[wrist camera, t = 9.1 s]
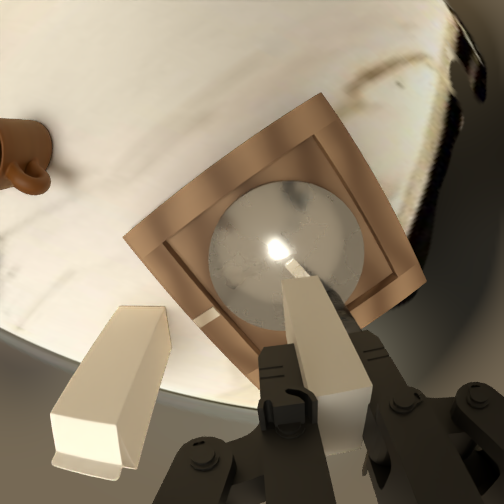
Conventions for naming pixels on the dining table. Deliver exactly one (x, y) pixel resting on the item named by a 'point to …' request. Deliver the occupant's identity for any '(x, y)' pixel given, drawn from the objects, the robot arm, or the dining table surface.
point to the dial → (285, 250)
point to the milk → (112, 395)
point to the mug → (24, 156)
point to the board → (257, 173)
